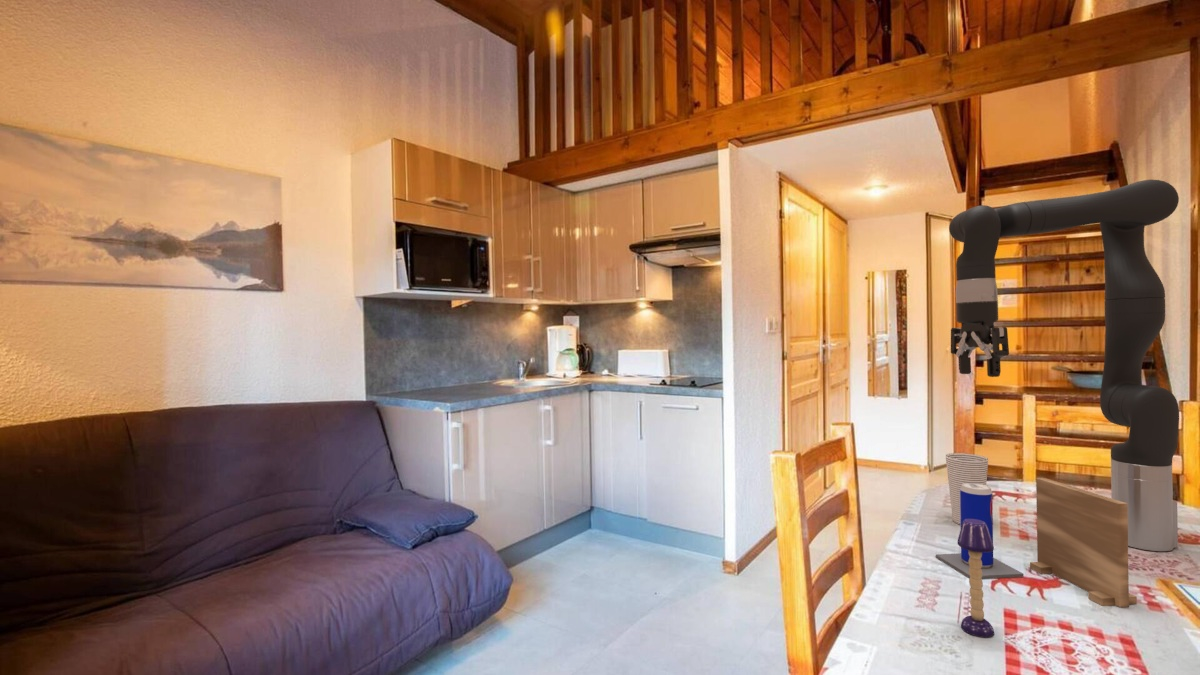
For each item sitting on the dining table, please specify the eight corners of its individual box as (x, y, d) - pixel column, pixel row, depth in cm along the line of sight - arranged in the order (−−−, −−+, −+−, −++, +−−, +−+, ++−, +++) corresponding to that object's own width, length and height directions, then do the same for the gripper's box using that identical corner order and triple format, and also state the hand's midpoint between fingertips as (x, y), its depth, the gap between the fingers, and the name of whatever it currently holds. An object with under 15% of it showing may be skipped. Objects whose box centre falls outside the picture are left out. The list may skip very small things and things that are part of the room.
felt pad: (983, 555, 112) (983, 552, 112) (1023, 576, 102) (1023, 573, 102) (935, 557, 112) (935, 554, 112) (971, 579, 102) (971, 576, 102)
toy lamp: (951, 622, 88) (949, 516, 87) (979, 620, 88) (977, 515, 88) (974, 639, 83) (972, 527, 83) (1004, 636, 83) (1002, 525, 83)
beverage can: (998, 569, 104) (997, 490, 104) (968, 568, 105) (967, 489, 105) (985, 558, 109) (984, 482, 109) (956, 557, 110) (955, 481, 110)
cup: (950, 526, 129) (949, 459, 128) (943, 515, 136) (942, 452, 136) (994, 530, 125) (993, 462, 125) (984, 518, 133) (983, 454, 133)
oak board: (1056, 565, 107) (1055, 477, 107) (1141, 606, 91) (1140, 502, 91) (1026, 566, 107) (1025, 478, 106) (1106, 608, 91) (1105, 504, 91)
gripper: (1019, 297, 113) (1021, 377, 114) (970, 301, 128) (972, 372, 128) (983, 299, 113) (986, 378, 113) (938, 303, 127) (940, 373, 128)
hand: (978, 375), depth 121 cm, fingers open, 8 cm apart
